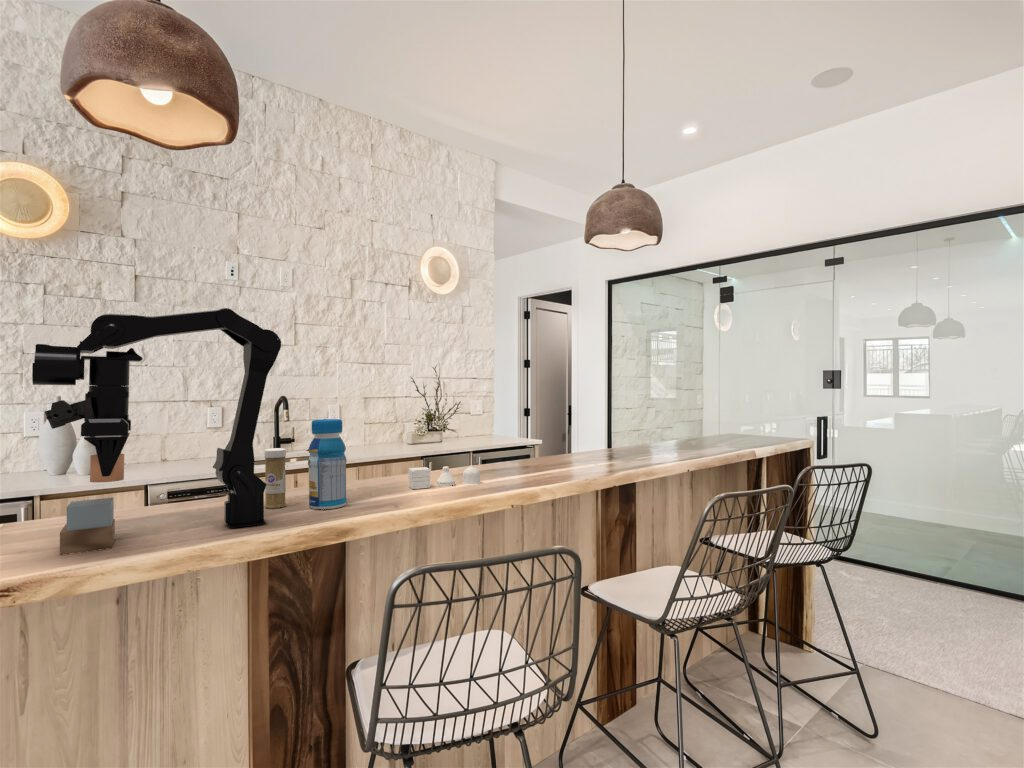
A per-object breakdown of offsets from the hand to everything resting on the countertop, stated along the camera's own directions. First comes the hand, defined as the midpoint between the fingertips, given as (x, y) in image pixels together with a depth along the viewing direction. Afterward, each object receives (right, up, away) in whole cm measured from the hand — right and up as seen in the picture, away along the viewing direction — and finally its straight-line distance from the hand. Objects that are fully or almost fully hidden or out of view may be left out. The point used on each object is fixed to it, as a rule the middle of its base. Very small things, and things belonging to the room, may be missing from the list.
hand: (107, 474), depth 96 cm
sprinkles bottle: (+17, -13, +30) cm, 37 cm away
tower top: (-2, -9, -1) cm, 9 cm away
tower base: (-2, -13, -1) cm, 13 cm away
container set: (+53, -13, +55) cm, 78 cm away
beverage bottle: (+29, -13, +30) cm, 43 cm away
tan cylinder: (0, -1, 0) cm, 1 cm away
